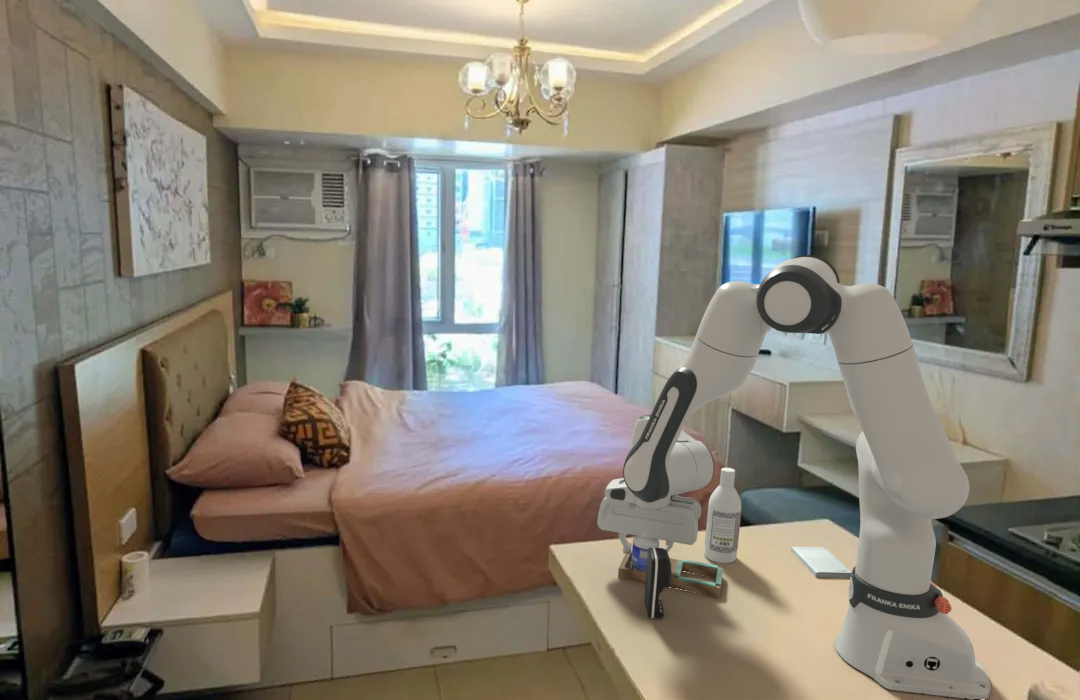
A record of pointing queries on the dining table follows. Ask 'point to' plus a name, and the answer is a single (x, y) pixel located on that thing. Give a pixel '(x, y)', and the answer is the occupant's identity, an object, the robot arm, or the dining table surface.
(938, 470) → the robot arm
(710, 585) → the wooden frame
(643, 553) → the pill bottle
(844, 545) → the dining table surface
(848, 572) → the hard drive
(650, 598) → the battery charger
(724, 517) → the bath foam
